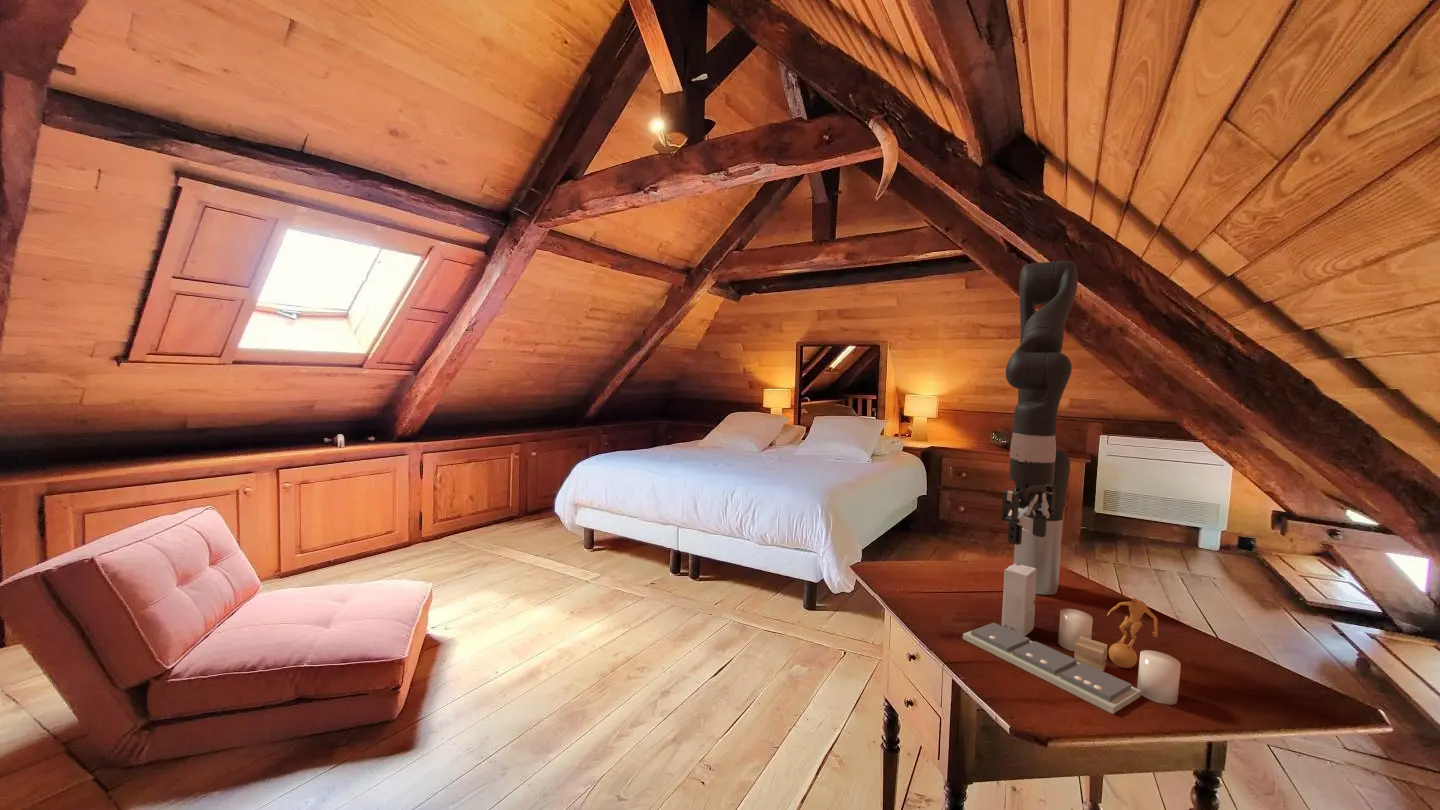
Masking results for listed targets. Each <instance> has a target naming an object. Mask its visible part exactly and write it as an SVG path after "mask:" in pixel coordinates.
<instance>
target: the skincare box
mask: <svg viewBox="0 0 1440 810" xmlns="http://www.w3.org/2000/svg"><path fill="white" fill-rule="evenodd" d="M1036 571H1037V569H1036V568H1033V567H1029V566H1024V565H1020V564H1016V563H1015V564H1014V563H1013V564H1012V565H1009V566H1008V567H1007V568H1005V569H1004V572H1003V574H1004V575H1003V592H1002V593H1003V594H1002V607H1001V608H1002V610H1001V626H1003V627H1005V628H1007V629H1009V630H1012V631H1014V632H1016V633H1018V634H1021V635H1023V636H1025V637H1027V635H1028V634H1029V633H1031V632H1032V631H1033V630H1034V628H1035V616H1036V615H1035V612H1036Z"/></svg>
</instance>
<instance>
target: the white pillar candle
mask: <svg viewBox="0 0 1440 810" xmlns="http://www.w3.org/2000/svg"><path fill="white" fill-rule="evenodd" d="M1139 654H1140V655H1139V664H1138V673H1137V686H1136V688H1137V689H1139V690H1141V696H1142V697H1144V698H1145V699H1148V700H1150V701H1153V702H1155V703H1158V704H1162V705H1170V706H1171V705H1175V704H1177V703H1178V700H1179V699H1178V698H1179V689H1180V679H1181V678H1180V677H1181V665H1182V664H1181V662H1180V661H1179V660H1178V658H1177V659H1176V658H1175V657H1174V656H1172V655H1169V654H1167V653H1164V652H1160V651H1156V650H1150V649H1144V650H1141V651H1140V653H1139Z"/></svg>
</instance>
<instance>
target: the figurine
mask: <svg viewBox="0 0 1440 810" xmlns="http://www.w3.org/2000/svg"><path fill="white" fill-rule="evenodd" d="M1121 606H1128V610H1129V611H1128V612H1129V616H1128V615H1125V617H1124V620H1123V621H1122V622H1121V624H1120V625H1119V630H1120V631H1121V633H1122V634H1123V636H1122V638H1121V639H1119V641H1117V642H1115V643H1113V644H1111V645H1110V647H1109V649H1108V656H1109V659H1110V661H1112V662H1113V664H1115V665H1116V666H1117V667H1120V668H1123V669H1131V668H1132V667H1134V666H1135V665H1136V664H1137V662H1138V656H1137V653H1136V651H1135V649H1134V648H1133V645H1134V643H1135V642H1136V639H1137V635H1136V634H1137V633H1138V632H1139V630H1140V629H1141V627H1142V626H1143V623H1142V621H1140V620H1141V618H1142V617H1143V615H1144V614H1145V613H1146V614H1147V615H1148V616H1149V617H1151V618H1152V619H1153V628H1154V631H1152V632H1151V634H1153V635H1152V637H1154V639H1155V638H1156V639H1157V638H1158V633H1159V631H1158V628H1159V627H1158V620H1159V619H1158V617H1157V616H1156V615H1155V614H1154V613H1153V612H1152V611H1151V610H1150V608H1148V606H1147V604H1146V603H1145V602H1144V601H1142V600H1138V599H1137V598H1136V597H1135V598H1134V597H1133V598H1132V599H1131V601H1121V602H1118V603H1117V604H1116V605H1115V606H1113V607H1112V608H1111V609H1110V610H1109V611H1108V613H1107V615H1106V616H1107V617H1108V616H1109V615H1110V614H1111V612H1114V611H1115V610H1118V608H1120V607H1121ZM1129 627H1130V629H1129V632H1130V633H1129V634H1130V638H1132V639H1130V641H1129V643H1128V644H1126V643H1125V641H1126V639H1127V638H1128V632H1127V630H1126V628H1129Z"/></svg>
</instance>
